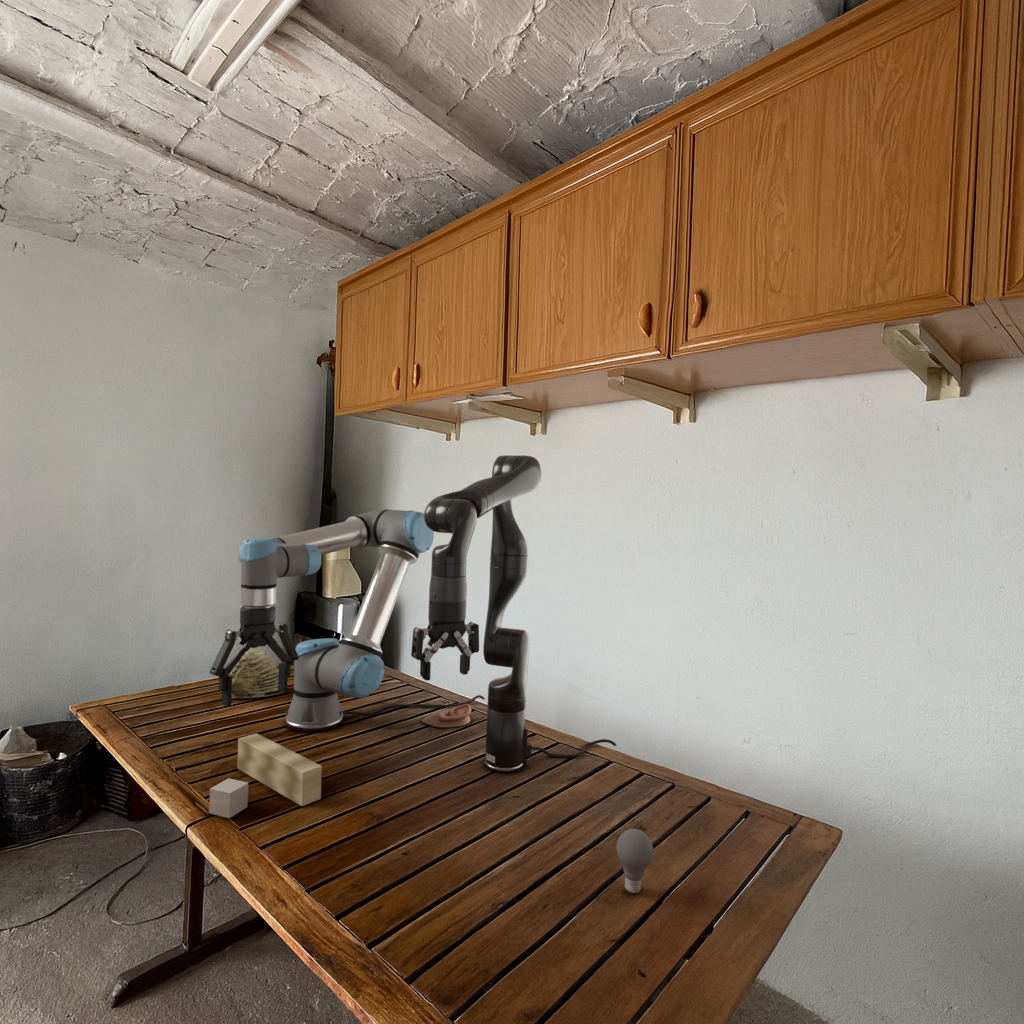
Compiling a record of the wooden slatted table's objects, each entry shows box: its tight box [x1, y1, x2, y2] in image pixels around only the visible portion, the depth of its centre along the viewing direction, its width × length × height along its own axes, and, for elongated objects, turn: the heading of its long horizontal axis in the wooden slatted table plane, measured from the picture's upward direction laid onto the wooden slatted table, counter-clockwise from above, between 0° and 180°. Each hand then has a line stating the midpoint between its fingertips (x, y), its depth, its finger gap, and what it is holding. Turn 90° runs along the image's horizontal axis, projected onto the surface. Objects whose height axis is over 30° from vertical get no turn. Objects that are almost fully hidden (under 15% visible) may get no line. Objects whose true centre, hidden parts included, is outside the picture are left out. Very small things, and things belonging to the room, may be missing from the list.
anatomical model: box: [421, 703, 472, 728], centre depth 182 cm, size 13×4×12 cm
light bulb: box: [615, 828, 654, 894], centre depth 106 cm, size 6×6×10 cm
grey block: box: [208, 778, 249, 819], centre depth 126 cm, size 5×5×5 cm
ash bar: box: [236, 733, 323, 807], centre depth 139 cm, size 26×4×7 cm, turn 51°
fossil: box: [229, 647, 283, 699], centre depth 198 cm, size 9×18×15 cm, turn 132°
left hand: (255, 698), depth 145 cm, fingers open, 13 cm apart
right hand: (445, 676), depth 128 cm, fingers open, 8 cm apart
